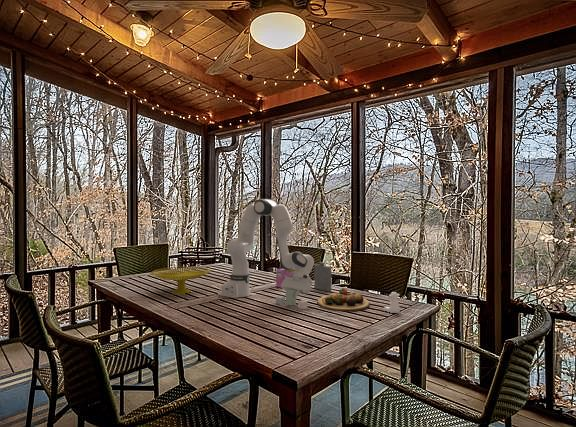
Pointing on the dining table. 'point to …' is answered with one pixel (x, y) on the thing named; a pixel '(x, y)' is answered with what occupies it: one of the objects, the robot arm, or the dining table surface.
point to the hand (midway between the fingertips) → (290, 296)
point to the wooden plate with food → (343, 301)
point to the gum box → (283, 275)
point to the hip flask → (322, 277)
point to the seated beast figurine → (393, 304)
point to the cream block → (302, 304)
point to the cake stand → (180, 276)
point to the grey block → (280, 300)
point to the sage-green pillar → (290, 297)
